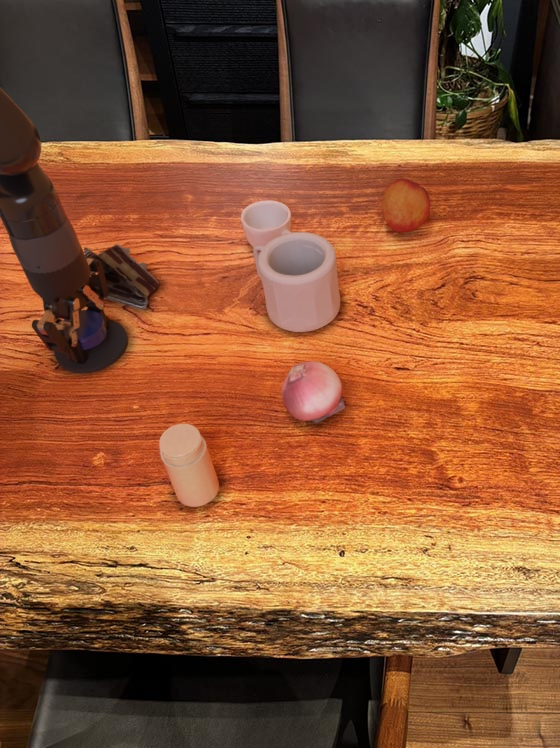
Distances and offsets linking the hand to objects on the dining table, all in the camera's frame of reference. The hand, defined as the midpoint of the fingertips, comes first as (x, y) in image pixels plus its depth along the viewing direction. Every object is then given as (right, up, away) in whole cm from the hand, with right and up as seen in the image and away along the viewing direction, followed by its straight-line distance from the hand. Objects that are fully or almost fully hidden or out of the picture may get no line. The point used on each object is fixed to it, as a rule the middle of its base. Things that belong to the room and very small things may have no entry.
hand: (90, 344), depth 112 cm
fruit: (+45, +19, +16) cm, 52 cm away
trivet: (0, 0, +1) cm, 1 cm away
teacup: (+24, +16, +14) cm, 32 cm away
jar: (+18, -18, -16) cm, 30 cm away
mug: (+28, +6, +5) cm, 29 cm away
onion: (+32, -9, -8) cm, 34 cm away
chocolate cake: (+3, +9, +9) cm, 13 cm away
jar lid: (0, +2, -3) cm, 4 cm away
